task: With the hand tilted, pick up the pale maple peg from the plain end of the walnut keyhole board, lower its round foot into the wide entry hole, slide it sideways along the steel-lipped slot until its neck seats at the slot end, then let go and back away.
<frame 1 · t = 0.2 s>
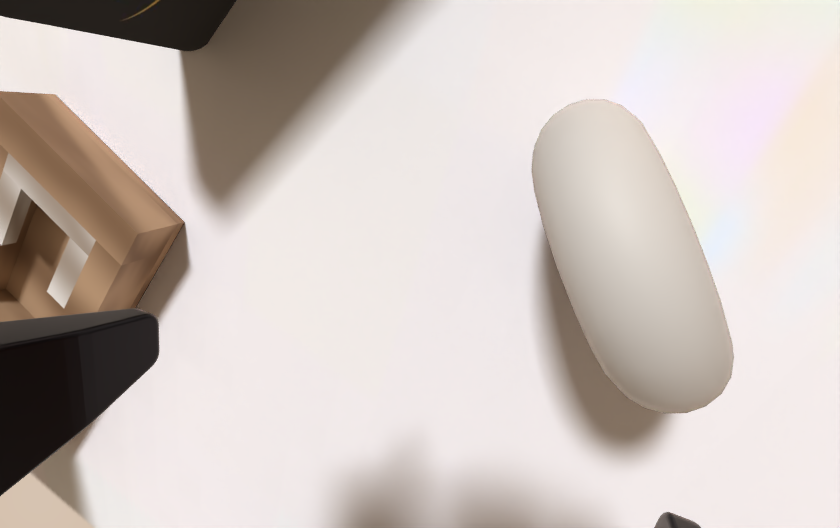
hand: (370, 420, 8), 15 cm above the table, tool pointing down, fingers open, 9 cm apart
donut: (615, 221, 19), on the table
keyhole board: (60, 288, 32), on the table
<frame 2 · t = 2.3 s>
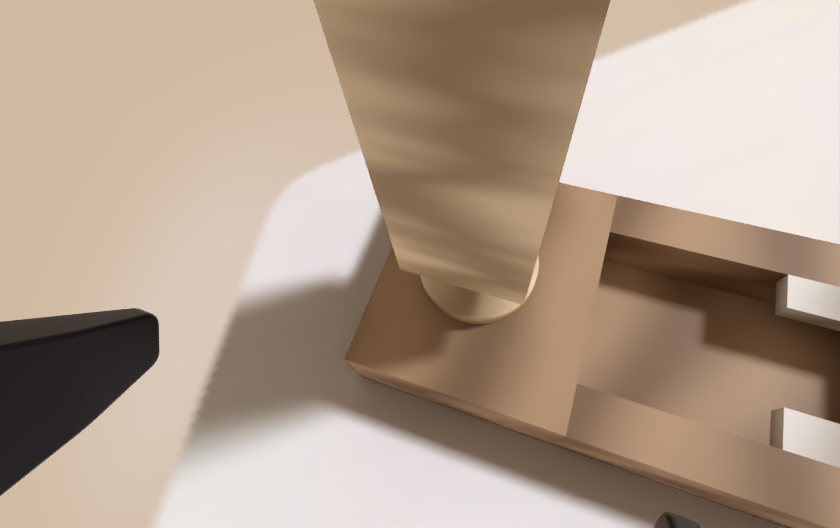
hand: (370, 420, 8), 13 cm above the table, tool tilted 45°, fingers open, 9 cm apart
keyhole board: (657, 349, 21), on the table
peg: (477, 269, 20), point 3 cm above the table, touching keyhole board
when the fingers open (8 cm above the table, at t = 10.1 s): peg stays where it is, resting on keyhole board.
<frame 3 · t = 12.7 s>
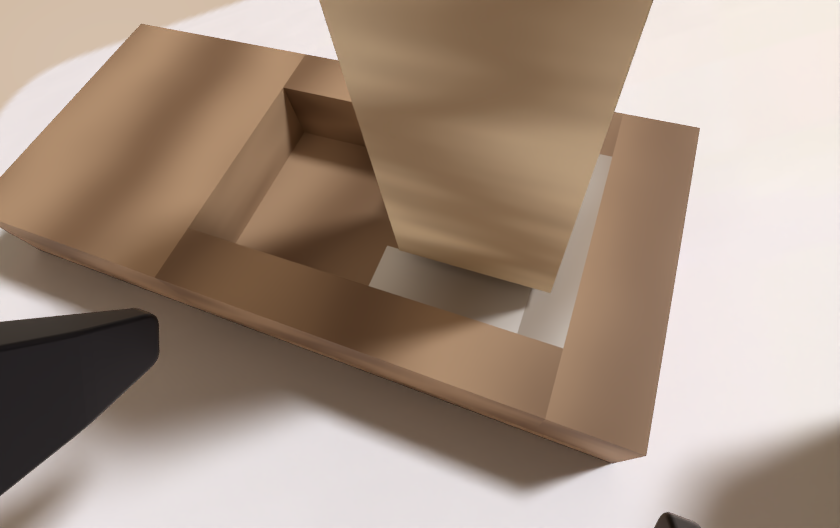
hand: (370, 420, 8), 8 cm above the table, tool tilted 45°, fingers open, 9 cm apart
keyhole board: (342, 219, 19), on the table
peg: (491, 255, 17), point 1 cm above the table, touching keyhole board
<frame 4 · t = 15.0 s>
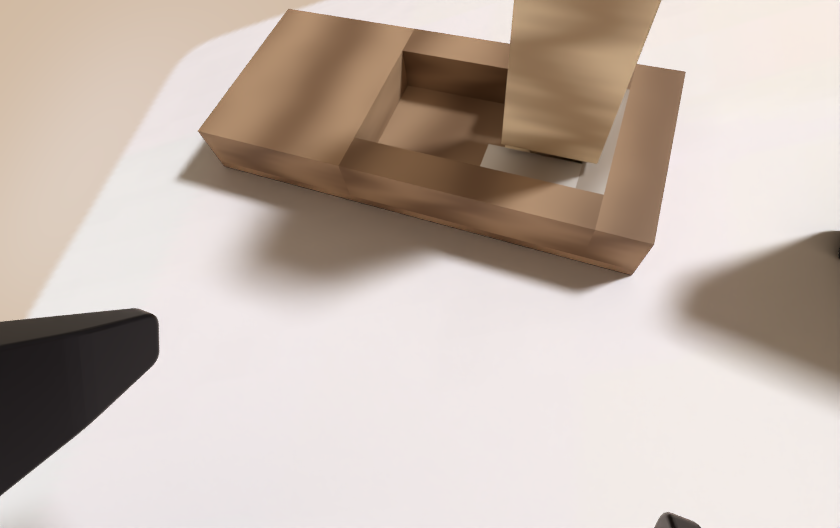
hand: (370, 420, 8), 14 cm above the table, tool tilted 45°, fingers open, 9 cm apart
keyhole board: (441, 142, 28), on the table
peg: (548, 159, 26), point 1 cm above the table, touching keyhole board
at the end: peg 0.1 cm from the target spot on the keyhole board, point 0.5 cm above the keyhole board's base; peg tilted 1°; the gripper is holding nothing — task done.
